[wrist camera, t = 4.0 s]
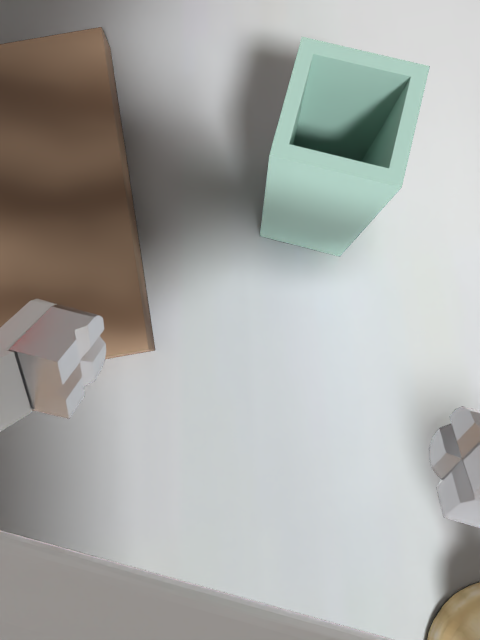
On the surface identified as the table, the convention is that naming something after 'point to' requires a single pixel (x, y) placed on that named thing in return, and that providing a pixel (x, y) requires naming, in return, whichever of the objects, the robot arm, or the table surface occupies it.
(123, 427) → the table surface
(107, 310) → the board
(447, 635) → the hand bell
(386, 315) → the table surface
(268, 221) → the sleeve
